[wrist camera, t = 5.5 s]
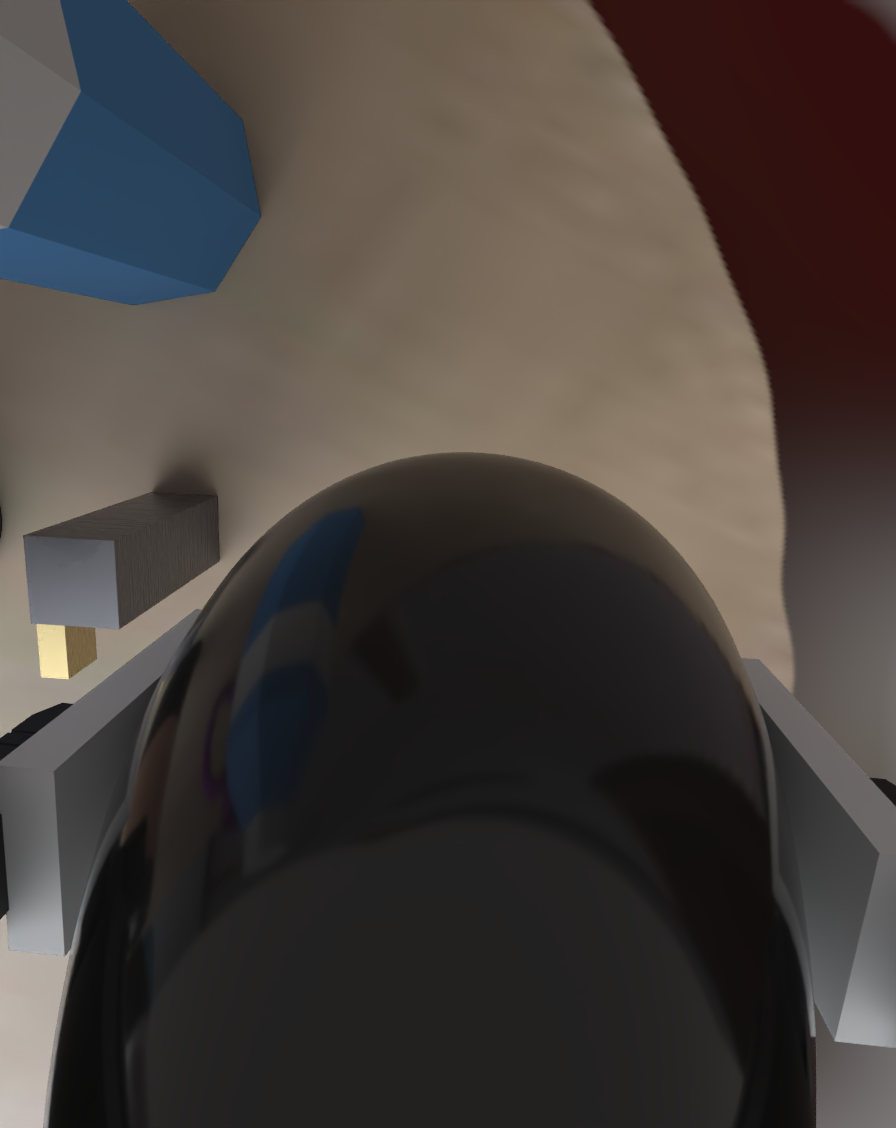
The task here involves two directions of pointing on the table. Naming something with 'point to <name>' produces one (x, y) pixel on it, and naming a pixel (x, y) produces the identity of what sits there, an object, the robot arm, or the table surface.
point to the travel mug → (0, 522)
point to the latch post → (113, 570)
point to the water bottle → (114, 158)
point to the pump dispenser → (446, 837)
